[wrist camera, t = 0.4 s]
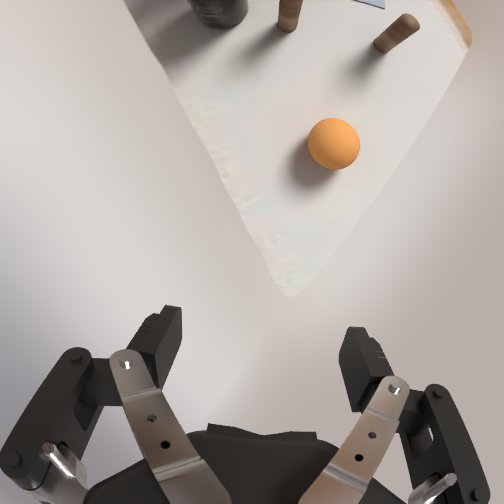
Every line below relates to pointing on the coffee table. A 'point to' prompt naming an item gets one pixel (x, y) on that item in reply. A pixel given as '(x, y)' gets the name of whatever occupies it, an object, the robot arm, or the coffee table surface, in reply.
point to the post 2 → (396, 33)
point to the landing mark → (374, 3)
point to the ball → (333, 143)
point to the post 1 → (289, 14)
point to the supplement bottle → (219, 12)
